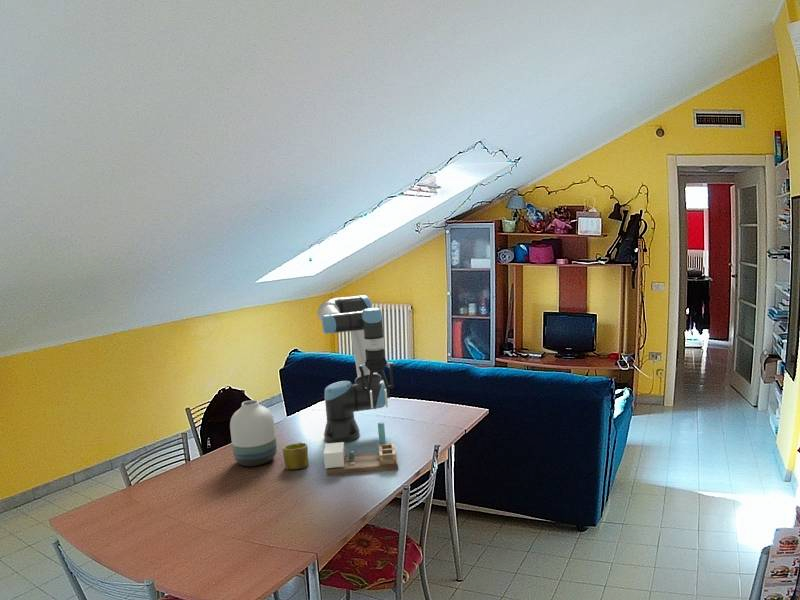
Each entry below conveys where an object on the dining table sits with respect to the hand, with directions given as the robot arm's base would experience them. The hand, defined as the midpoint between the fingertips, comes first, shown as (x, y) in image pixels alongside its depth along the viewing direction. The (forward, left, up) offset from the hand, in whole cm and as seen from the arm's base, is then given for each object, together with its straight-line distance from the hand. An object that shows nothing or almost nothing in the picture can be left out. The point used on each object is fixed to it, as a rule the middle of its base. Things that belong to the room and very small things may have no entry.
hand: (379, 406), depth 240 cm
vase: (-3, -50, -19) cm, 54 cm away
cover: (+11, -18, -16) cm, 27 cm away
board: (+11, -8, -19) cm, 23 cm away
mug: (+4, -33, -19) cm, 38 cm away
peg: (0, 0, -19) cm, 19 cm away
